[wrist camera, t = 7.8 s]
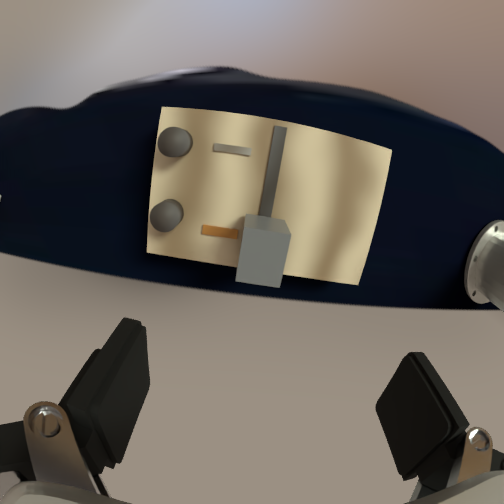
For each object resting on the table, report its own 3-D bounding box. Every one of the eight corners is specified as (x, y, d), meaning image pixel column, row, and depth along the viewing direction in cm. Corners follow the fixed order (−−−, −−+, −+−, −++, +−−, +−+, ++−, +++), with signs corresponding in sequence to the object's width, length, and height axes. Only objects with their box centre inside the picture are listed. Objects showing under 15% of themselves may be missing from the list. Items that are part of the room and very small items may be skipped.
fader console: (374, 149, 25) (402, 150, 19) (345, 268, 29) (364, 294, 24) (174, 113, 24) (154, 103, 18) (159, 239, 28) (139, 260, 23)
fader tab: (284, 219, 23) (291, 234, 19) (275, 264, 24) (279, 287, 20) (245, 213, 23) (244, 226, 19) (238, 258, 24) (235, 281, 20)
